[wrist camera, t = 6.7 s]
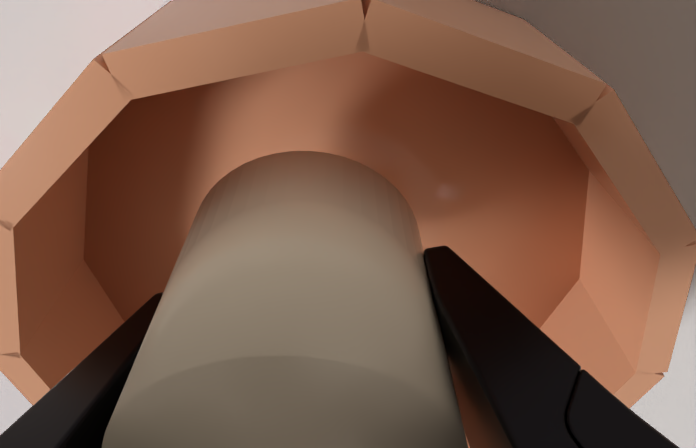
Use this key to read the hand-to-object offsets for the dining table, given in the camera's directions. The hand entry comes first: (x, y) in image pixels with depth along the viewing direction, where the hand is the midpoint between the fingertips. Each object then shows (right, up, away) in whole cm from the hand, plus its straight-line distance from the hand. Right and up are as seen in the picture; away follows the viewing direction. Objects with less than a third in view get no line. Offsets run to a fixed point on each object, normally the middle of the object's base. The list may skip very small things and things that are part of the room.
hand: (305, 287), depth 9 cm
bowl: (0, 0, +5) cm, 5 cm away
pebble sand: (0, +1, +1) cm, 1 cm away
